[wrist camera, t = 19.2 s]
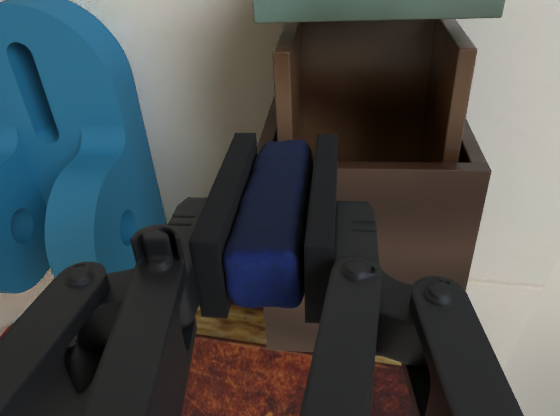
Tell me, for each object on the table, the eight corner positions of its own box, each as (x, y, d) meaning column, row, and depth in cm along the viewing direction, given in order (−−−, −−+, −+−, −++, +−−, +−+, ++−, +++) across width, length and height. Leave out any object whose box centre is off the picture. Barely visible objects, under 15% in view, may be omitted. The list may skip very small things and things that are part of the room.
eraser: (317, 188, 19) (306, 315, 14) (260, 188, 20) (227, 313, 14) (315, 137, 18) (302, 253, 13) (255, 138, 18) (216, 252, 13)
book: (148, 433, 57) (132, 476, 53) (133, 280, 44) (110, 323, 40) (404, 475, 56) (409, 522, 52) (471, 331, 43) (484, 381, 38)
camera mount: (167, 228, 40) (118, 327, 31) (46, 226, 41) (-33, 320, 33) (113, -11, 30) (18, 36, 21) (-45, -4, 31) (-194, 43, 23)
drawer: (267, -162, 24) (239, -174, 18) (488, -178, 23) (543, -196, 17) (284, 164, 34) (269, 230, 28) (438, 166, 33) (460, 236, 27)
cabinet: (273, 96, 33) (249, 167, 25) (455, 95, 31) (491, 170, 23) (282, 256, 40) (266, 349, 32) (429, 261, 39) (450, 360, 31)
